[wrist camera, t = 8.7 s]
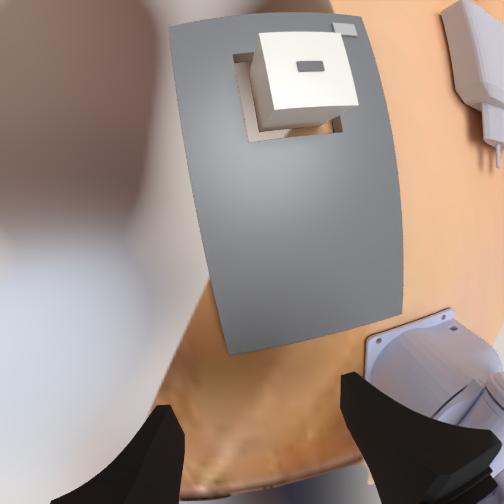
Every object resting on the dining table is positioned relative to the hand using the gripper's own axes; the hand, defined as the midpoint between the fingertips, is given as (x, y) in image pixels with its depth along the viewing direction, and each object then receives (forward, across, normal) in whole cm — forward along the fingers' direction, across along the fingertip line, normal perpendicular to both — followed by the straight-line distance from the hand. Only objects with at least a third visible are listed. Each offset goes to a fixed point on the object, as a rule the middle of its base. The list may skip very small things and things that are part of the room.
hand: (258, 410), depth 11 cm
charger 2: (+10, -25, -15) cm, 31 cm away
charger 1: (+10, -5, -14) cm, 17 cm away
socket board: (+9, -5, -9) cm, 14 cm away
